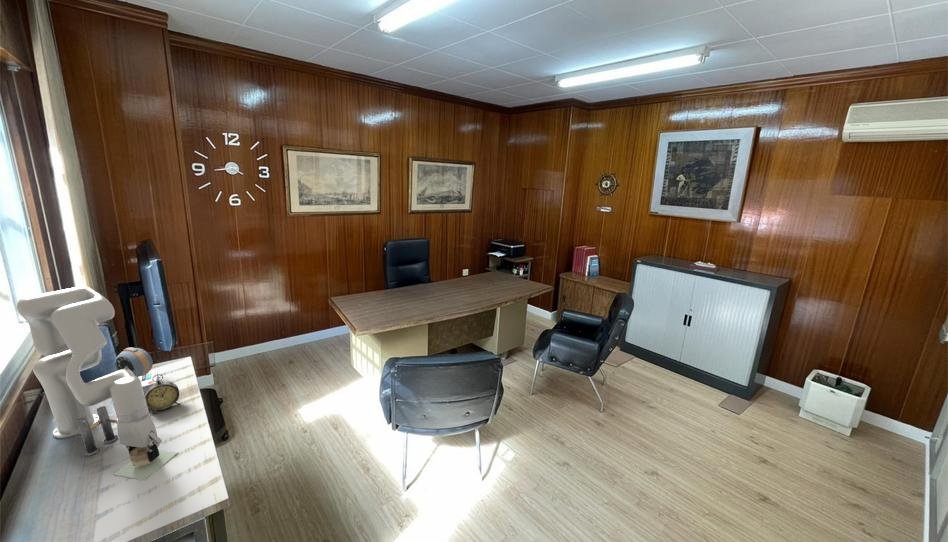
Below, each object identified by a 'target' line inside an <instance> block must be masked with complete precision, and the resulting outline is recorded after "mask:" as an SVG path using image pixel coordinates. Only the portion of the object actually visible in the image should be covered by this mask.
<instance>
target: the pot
mask: <svg viewBox="0 0 948 542" xmlns="http://www.w3.org/2000/svg"><path fill="white" fill-rule="evenodd" d="M152 445H153V444H152V442H151V443H150V444H149V446H150V447H151V446H152ZM147 452H148V451H147V449H146V448H145V447H144V448H140V447H136V448H135V449H133V450H132V451H131V453H130V454H129V457H130V462H131V461H132V465H133V466H137V467H141V466H144V465H147V464H149V463H151V462H149V459H148V456H147ZM157 458H158V457H157ZM154 460H155V459H154ZM154 460H153V461H154Z"/></svg>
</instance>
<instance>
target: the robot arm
mask: <svg viewBox="0 0 948 542" xmlns="http://www.w3.org/2000/svg"><path fill="white" fill-rule="evenodd" d="M16 309H17V311H18V313H19V315H20V316H21V317H23V319H24V320H25V321H26V322H27V323H28V326H29V328H30V333H31V337H32V342H33V345H34V348H35V351H36V352H37V353H38V354H39V355H41V356H43V357H41V358H39V359H37V360H36V361H35V362H34V364H33V365H32V371H33V374H34V375H35V376H36V378H37V380H38V381H39V383H40V384H41V386H42V389H43V390H44V393H45V396H46V399H47V402H48V404H49V407H50V409H51V413H52V416H53V419H52V420H51V421H52V423H56V427H55V428H54V429H53V431H52V435H53V437H55V438H58V439H64V438H71V437H75V436H78V435H81V432H80V429H79V426H78V423H77V420H78V419H79V418H82V417H87V420H88V423H89V426H90V427H91V426H93V425H94V424H96V423H98V422H99V421H100V419H99V416H98V413H97V414H96V413H93V411H92V408H91V406H92V407H93V406H95V405H97V404H100V403H102V402H105V401H107V400H109V399H111V401H112V405H113V408H114V412H115V415H116V418H117V419H116V420H117V423H116V429H117V436H118V440H119V442H120V444H121V445H124V446H125V448H126V449H127V450H128V455H130V453H131V451H132V450H133V449H135V448H136V447H140V448H144V447H145V448H146V449H147V451H148V452H147V456H148V459H149V462H152V461H153V460H154V459H156V458H157V457H158V456H159V455H160V454H159V450H158V449H159V446H160V444H162V442H163V440H162V439H161V438H160V437H159V436H158V432H157V431H158V430H157V429H156V428H157V427H156V426H155V423H154V420H153V418H152V416H151V414H150V411H149V408H148V406H147V403H146V399H145V395H144V392H143V388H142V384H141V381H140V379H139V378H138V377H135V375H134V373H133V372H132V371H129V370H128V369H121V370H118V371H117V370H116V371H113V372H111V373H108V374H105V375H102V376H101V377H97V378H95V379H93V380H89V381H87V382H84V379H83V378H82V376H81V372H83V371H85V370H88V369H90V368H93V367H96V366H98V365H99V364H101V361H102V358H103V357H102V349H103V348H105V346H107V343H108V340H107V338H106V337H105V335H104V334H103V332H102V330H101V329H100V327H99V325H98V324H99V323H103V322H107V321H110V320H112V319H113V318H114V317H115V314H116V312H115V308H114V306H113V304H112V303H111V302H110V301H109V300H108V299H107V298H106V297H105V296H103V295H102V294H101V293H99V292H97V291H96V290H95V289H92V288H91V287H89V286H87V285H86V286H85V285H81V286H73V287H71V288H65V289H60V290H55V291H49V292H45V293H40V294H36V295H35V294H34V295H31V296H26V297H23V298H21V299H19V300H18V302H17V303H16ZM149 440H150V441H149ZM151 442H152V444H153V445H152V446H151V447H150V446H149V444H150V443H151Z"/></svg>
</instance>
